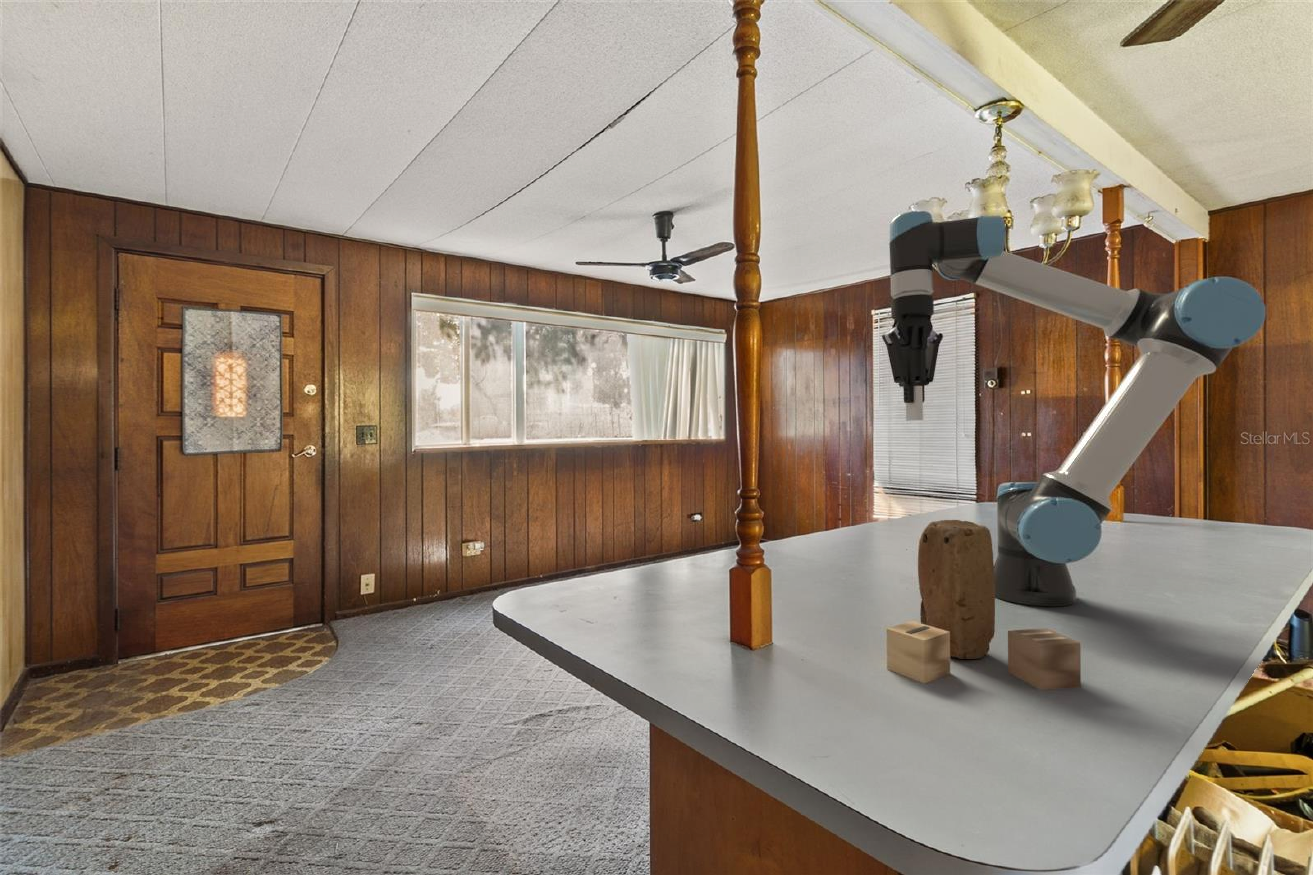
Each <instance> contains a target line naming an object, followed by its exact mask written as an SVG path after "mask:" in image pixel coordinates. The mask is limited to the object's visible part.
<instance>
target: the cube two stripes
mask: <svg viewBox="0 0 1313 875" xmlns="http://www.w3.org/2000/svg"><path fill="white" fill-rule="evenodd" d="M1081 650H1082V649H1081V642H1079V641H1076V640H1074V639H1072V638H1070V637H1068V636H1066V635H1063V634H1060V633H1058V632H1056V631H1053V630H1052V629H1049V628H1047V627H1046V628H1043V627H1042V628H1030V629H1029V628H1028V629H1014V630H1007V668H1008V669H1007V670H1008V671H1007V672H1008V674H1011V675H1013V676H1014V677H1016V678H1018V679H1019V680H1021V681H1023V682H1025V683H1026V684H1028V685H1030V686H1032V687H1033V688H1035V689H1037V690H1039V691H1045V690H1058V689H1059V690H1060V689H1073V688H1081V686H1082V683H1081V680H1082V676H1081V675H1082V674H1081V668H1082V667H1081V666H1082V664H1081V661H1082V660H1081V654H1082V653H1081Z"/></svg>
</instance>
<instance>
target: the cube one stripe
mask: <svg viewBox="0 0 1313 875" xmlns="http://www.w3.org/2000/svg"><path fill="white" fill-rule="evenodd" d="M886 670H887V671H891V672H894V673H897V674H899V675H901V676H904V677H907V678H908V679H911V680H914V681H917V682H920V683H922V684H926V683H927V684H928V682H932V681H934V680H936V679H939V678H941V677H944V676H947V675H949V674H951V656H950V632H948V631H945V630H942V629H938V628H935V627H931V626H928V625H925V624H921V622H918V621H914V620H911V621H907V622H904V623H901V624H897V625H894V626H890V627H887V628H886Z"/></svg>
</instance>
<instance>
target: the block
mask: <svg viewBox="0 0 1313 875" xmlns="http://www.w3.org/2000/svg"><path fill="white" fill-rule="evenodd" d="M918 544H919V545H918V549H917V550H918V551H917V552H918V554H917V577H918V586H919V587H918V589H919V594H920V598H921V602H920V608H919V610H920V614H919V615H920V616H919V617H920V618H919V619H920V623H921V624H925V625H928V626H931V627H935V628H938V629H942V630H945V631H948V632H950V658H951V657H952V658H957V659H959V660H962V659H963V660H964V659H965V660H966V659H967V660H976V659H982V658H983V657H984V655H986V654H988V653H989V651H990V643H992V640H993V639H994V637H995V632H996V631H995V630H996V629H995V627H996V626H995V624H996V597H995V584H994V565H995V563H994V551H993V540H992V535H991V531H990V529H989V528H988V527H986V526H985V525H979V524H978V523H975V522H972V521H969V520H960V519H943V520H935V521H932V522H929V523H928V525H927V526H926V527H925V528H924V530H923V531H922V534H921V536H920V538H919V542H918Z"/></svg>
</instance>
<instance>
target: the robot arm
mask: <svg viewBox="0 0 1313 875" xmlns="http://www.w3.org/2000/svg"><path fill="white" fill-rule="evenodd" d="M1006 230H1007V229H1006V223H1005V219H1004V218H1003V217H1002V216H1000V215H990V216H989V215H988V216H986V215H985V216H984V215H980V216H979V217H971V218H963V219H953V220H947V221H940V222H939V221H934V220H933V216H932V213H930V212H928V211H925V210H921V211H918V210H915V211H914V210H913V211H907V212H904V213H900V214H897V216H895V217H894V218H893V219H892V220H891V221H890V224H889V269H890V270H889V271H890V296H891V297H892V300H891V301H890V313H891V314H890V317H891V319H893V323H892V326H891V329H890V330H889V331H888V332H885V333H882V334H881V338H882V340H883V343H884V344H885V347H886V350H887V356H888V358H889V359H888V360H889V363H890V368H891V369H890V370H891V373H892V377H893V382H894V383H895V384H898V386H899V387H900V388H901V387H903V402H904V404H905V412H906V416H905V417H906V418H905V420H906V421H923V420H924V408H923V403H924V402H925V397H926V395H925V386H928V385H929V384H930V383H932V382H933V381H934V378H935V373H936V366H937V360H938V356H939V355H938V354H939V348H940V345H941V342H942V340H943V339H944V335H943V333H941V332H940V333H937V332H936V331H935V330H934V329H933V328H934V327H933V326H934V325H933V323H932V321H931V319H932V316H933V315H934V313H935V307H934V304H935V303H934V296H932V294H933V293H934V268H933V266H934V265H933V264H935V266H936V270H937V273H938V274H939V275H940V276H941V277H942V278H943V279H945V280H949V281H958V280H963V281H966V282H968V283H972V284H974V285H978V286H980V287H983V288H986V289H989V290H992V291H995V292H997V293H1000V294H1003V295H1005V296H1009V297H1011V298H1015V299H1017V300H1021V301H1023V302H1026V303H1029V304H1032V305H1034V306H1038V307H1040V308H1043V309H1046V310H1049V311H1052V312H1055V313H1058V314H1060V315H1063V316H1066V317H1069V318H1072V319H1073V320H1077V321H1080V322H1083V323H1085V324H1089V325H1091V326H1094V327H1097V328H1100V329H1102V330H1103V332H1104V334H1105V336H1106V337H1108V338H1112V339H1114V340H1117V341H1120V342H1122V343H1125V344H1128V345H1131V346H1133V347H1135V348H1138V350H1139V357H1138V358H1137V359H1136V360H1135V362H1134V363H1133V365H1132V366H1131V367H1130V369H1129V370H1128V371H1127V373H1126V374H1125V376H1124V377H1123V378H1122V381H1120V383H1119V384H1118V385H1117V387H1116V388H1115V390H1114V391H1113V392H1112V394H1111V395H1110V397H1109V399H1108V400H1107V401H1106V403H1105V404H1104V405H1103V406H1102V408H1101V410H1100V411H1099V412H1098V414H1097V415H1096V416H1095V417H1094V419H1093V421H1092V422H1091V423H1090V424H1089V426H1088V427H1087V429H1086V431H1085V432H1084V433H1083V435H1081V436H1080V439H1079V440H1078V441H1077V443H1076V444H1075V446H1074V447H1073V448H1072V450H1071V452H1070V453H1069V454H1068V455H1067V456H1066V458H1065V460H1064V461H1063V462H1062V464H1061V465H1060V467H1059V468H1058V469H1057V470H1055V471H1050V472H1045V473H1043V474H1042V475H1041V477H1040V478H1039V480H1038V481H1033V482H1032V481H1026V482H1025V481H1023V482H1022V481H1020V482H1017V481H1015V482H1002V483H1001V484H1000V485H998V488H997V494H996V499H995V500H996V502H997V507H996V508H997V510H996V511H997V557H996V560H995V563H994V584H995V598H998V599H1000V600H1004V601H1007V602H1010V603H1015V604H1021V605H1027V606H1037V607H1065V606H1071V605H1073V604H1075V603H1076V602H1077V589H1076V587H1075V585H1074V583H1073V579H1072V577H1071V574H1070V571H1069V568H1068V565H1067V564H1070V563H1075V562H1079V561H1081V560H1083V559H1085V558H1087V557H1088V556H1090V555H1091V554H1092V553H1093V552H1095V550H1096V549H1097V547H1099V546H1098V545H1099V544H1100V541H1101V538H1102V524H1103V522H1104V521H1105V519H1106V518H1107V517H1108V515H1109V514H1110V512H1111V511H1112V510H1113V508H1112V504H1111V501H1110V495H1111V494H1112V493H1113V491H1114V490H1115V488H1116V487H1117V486H1118V485H1119V483H1120V482H1121V481H1122V479H1123V477H1124V476H1125V475H1127V472H1128V471H1129V470H1130V468H1131V467H1132V465H1134V462H1136V460H1137V459H1138V458H1139V456H1140V455H1141V453H1142V452H1143V451H1144V450H1145V448H1146V447H1147V445H1148V444H1149V443H1150V441H1151V439H1152V438H1153V437H1154V436H1155V434H1156V433H1157V432H1158V430H1159V429H1160V428H1161V426H1162V425H1163V424H1164V422H1165V421H1166V420H1167V418H1168V417H1169V416H1170V414H1171V413H1172V411H1173V410H1175V407H1176V406H1177V405H1178V403H1179V402H1180V401H1181V399H1182V398H1183V397H1184V395H1185V394H1186V392H1188V390H1189V388H1190V387H1191V386H1192V384H1193V383H1194V381H1196V379H1197V378H1199V377H1201V376H1206V375H1210V374H1213V373H1215V372H1216V370H1217V369H1218V368H1219V366H1220V365H1221V364H1222V362H1223V361H1224V360H1225V359H1226V357H1227V356H1228V355H1229V353H1230V352H1231V351H1232V349H1233V348H1237V347H1240V346H1242V345H1243V344H1245V343H1246V342H1247V341H1248V342H1249V340H1251V339H1253V337H1255V336H1256V335H1257V333H1259V332H1260V330H1261V329H1262V326H1263V325H1264V323H1265V320H1266V310H1267V309H1266V304H1265V303H1264V300H1263V298H1262V295H1261V294H1260V292H1259V291H1258V290H1257V289H1256V288H1255V286H1252V285H1251V284H1249V283H1248V282H1246V281H1245V280H1244V281H1243V280H1242V279H1239V278H1236V277H1231V276H1215V277H1214V276H1213V277H1209V278H1203V279H1198V280H1196V281H1193V282H1191V283H1189V284H1187V285H1186V286H1184V287H1182V288H1179V289H1177V290H1174V291H1172V292H1170V293H1156V292H1155V293H1154V292H1150V291H1145V290H1142V289H1139V288H1133V289H1130V290H1122V289H1120V288H1118V287H1114V286H1110V285H1108V284H1105V283H1101V282H1098V281H1097V280H1093V279H1090V278H1087V277H1084V276H1081V275H1078V274H1074V273H1071V272H1068V271H1066V270H1062V269H1059V268H1057V267H1053V266H1051V265H1047V264H1045V263H1041V262H1038V261H1036V260H1033V259H1028V258H1025V257H1023V256H1020V255H1017V254H1014V253H1011V252H1008V251H1006V250H1004V249H1005V246H1006V245H1005V244H1006V239H1007V238H1006V237H1007V235H1006V234H1007V232H1006Z"/></svg>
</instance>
